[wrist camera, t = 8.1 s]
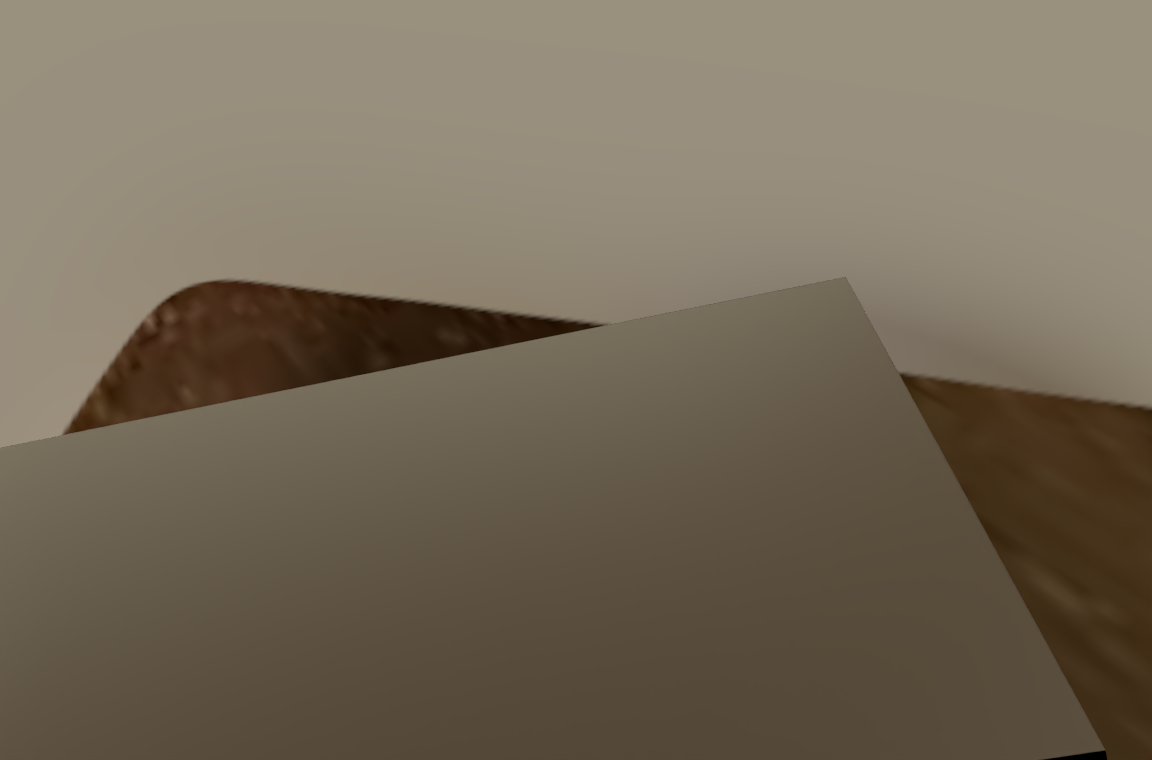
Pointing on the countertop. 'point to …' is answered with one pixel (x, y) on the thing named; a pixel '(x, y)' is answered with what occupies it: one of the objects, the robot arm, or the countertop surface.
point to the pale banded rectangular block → (530, 564)
